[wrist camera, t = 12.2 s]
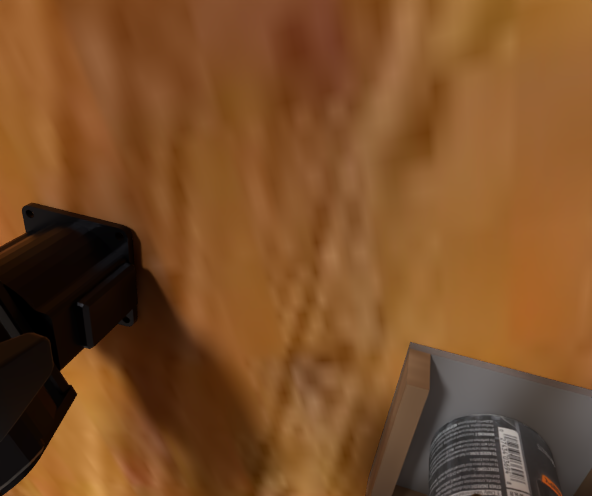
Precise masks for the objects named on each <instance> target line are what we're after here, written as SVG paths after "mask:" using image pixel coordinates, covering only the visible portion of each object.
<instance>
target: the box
mask: <svg viewBox="0 0 592 496" xmlns="http://www.w3.org/2000/svg"><path fill="white" fill-rule="evenodd" d="M475 414H491V415H498V416H503V417H507V418H510V419H514V420H516V421H518V422H521V423H522V424H524V425H526V426H528V427H529V428H531V429H532V430H534V431H535V432H536V433H538V434H539V436H540V437H541V438H542V439H543V440H544V441H545V442H546V444H547V445H548V447H549V449H550V451H551V453H552V456H553V460H554V464H555V468H556V472H557V476H558V480H559V483H560V487H561V491H562V495H563V496H592V390H589V389H585V388H581V387H578V386H574V385H570V384H566V383H563V382H559V381H555V380H551V379H547V378H544V377H540V376H536V375H532V374H529V373H525V372H521V371H517V370H514V369H510V368H506V367H502V366H498V365H495V364H491V363H487V362H483V361H480V360H476V359H472V358H468V357H465V356H461V355H457V354H453V353H449V352H446V351H442V350H438V349H434V348H431V347H427V346H423V345H419V344H415V343H412V342H410V345H409V348H408V352H407V355H406V358H405V361H404V365H403V368H402V371H401V374H400V378H399V381H398V384H397V387H396V391H395V394H394V397H393V400H392V404H391V407H390V410H389V413H388V417H387V420H386V423H385V426H384V429H383V433H382V436H381V439H380V442H379V446H378V449H377V452H376V455H375V459H374V462H373V465H372V468H371V472H370V475H369V478H368V483H367V490H366V496H428V484H429V454H430V445H431V442H432V439H433V437H434V435H435V434H436V432H437V431H438V430H439V429H440V428H441V427H442V426H444V425H445V424H446V423H448V422H449V421H452V420H454V419H456V418H460V417H463V416H468V415H475Z"/></svg>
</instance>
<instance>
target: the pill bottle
mask: <svg viewBox="0 0 592 496" xmlns="http://www.w3.org/2000/svg"><path fill="white" fill-rule="evenodd" d="M474 493H478V494H481V495H483V496H563V495H562V491H561V487H560V483H559V480H558V476H557V472H556V468H555V464H554V460H553V456H552V453H551V451H550V449H549V447H548V445H547V444H546V442H545V441H544V440H543V439H542V438H541V437H540V436H539V434H538V433H536V432H535V431H534V430H532V429H531V428H529V427H528V426H526V425H524V424H522V423H521V422H518V421H516V420H514V419H510V418H507V417H503V416H498V415H491V414H475V415H468V416H463V417H460V418H456V419H454V420H452V421H449V422H448V423H446V424H445V425H444V426H442V427H441V428H440V429H439V430H438V431H437V432H436V434H435V435H434V437H433V439H432V442H431V445H430V454H429V484H428V496H472V494H474Z"/></svg>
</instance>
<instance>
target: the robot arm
mask: <svg viewBox="0 0 592 496" xmlns="http://www.w3.org/2000/svg"><path fill="white" fill-rule="evenodd" d="M32 212H33V213H32ZM22 214H23V219H24V225H25V230H26V233H25V234H23V235H21V236H19V237H17V238H15V239H14V240H12V241H10V242H8V243H6V244H4V245H3V246H1V247H0V496H2V495H4V494H5V493H6V492H8V491H9V490H10V489H12V488H13V487H14V486H15V485H17V484H18V483H19V482H20V481H21V480H22V479H23V478H24V477H25V476H26V475H27V474H28V473H29V472H30V471H31V470H32V468H33V467H34V466H35V465H36V463H37V462H38V460H39V459H40V457H41V456H42V454H43V452H44V450H45V449H46V447H47V445H48V444H49V442H50V440H51V438H52V437H53V435H54V433H55V432H56V430H57V428H58V427H59V425H60V423H61V421H62V420H63V418H64V416H65V415H66V413H67V411H68V409H69V408H70V406H71V404H72V403H73V401H74V399H75V397H76V396H77V393H76V391H75V390H74V388H73V387H72V385H69V384H68V383H67V381H66V380H65V378H64V377H63V375H62V374H61V372H60V371H61V370H62V369H63V368H64V367H65V366H66V365H67V364H68V363H69V362H70V361H71V360H72V359H73V358H74V357H75V356H76V355H77V354H78V353H79V352H80V351H82V350H83V349H84V348H88V349H91V348H92V347H94V346H95V345H96V344H97V343H98V342H99V341H100V340H102V339H103V338H104V337H105V336H106V335H107V334H108V333H109V332H110V331H111V330H112V329H113V328H114V327H115V326H116V325H117V324H121V325H124V326H129V327H130V326H132V325H133V324H134V323H135V322H136V321H137V303H138V302H137V286H136V270H135V267H134V255H133V240H132V233H131V231H130V229H129V228H128V227H126V226H124V225H121V224H117V223H113V222H109V221H105V220H101V219H97V218H93V217H89V216H85V215H80V214H76V213H72V212H68V211H64V210H60V209H56V208H52V207H48V206H44V205H40V204H36V203H30V204H28V205H26V206H24V207H23V208H22ZM120 233H121V234H122V235H123V237H122V236H121V235H120ZM472 496H483V495H481V494H478V493H474V494H472Z"/></svg>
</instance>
